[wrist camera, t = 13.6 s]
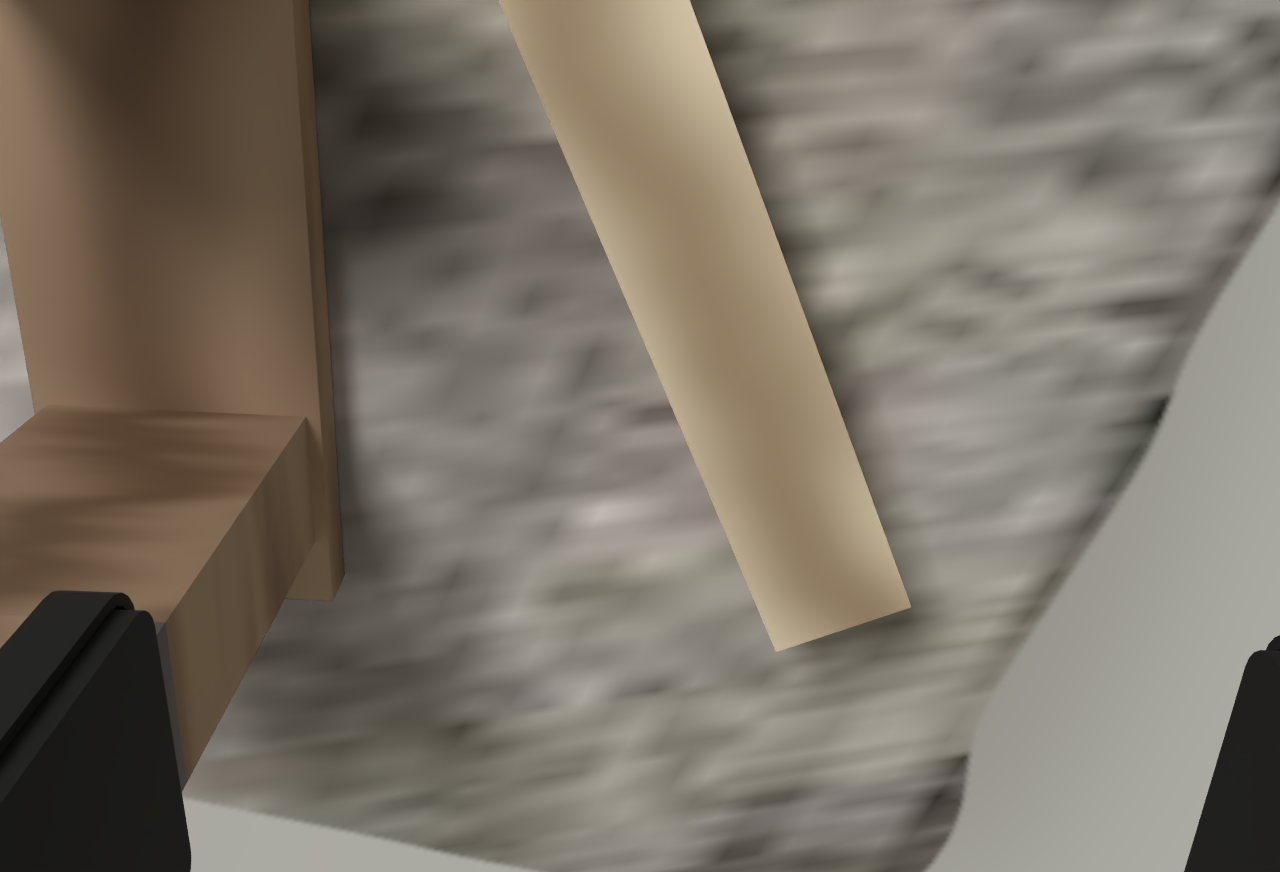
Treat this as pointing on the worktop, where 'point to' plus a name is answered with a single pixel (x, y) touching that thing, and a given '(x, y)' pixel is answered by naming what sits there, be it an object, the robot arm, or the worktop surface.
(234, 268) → the walnut rack
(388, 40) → the worktop surface
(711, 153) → the maple bar
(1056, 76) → the worktop surface
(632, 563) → the worktop surface
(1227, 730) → the robot arm
